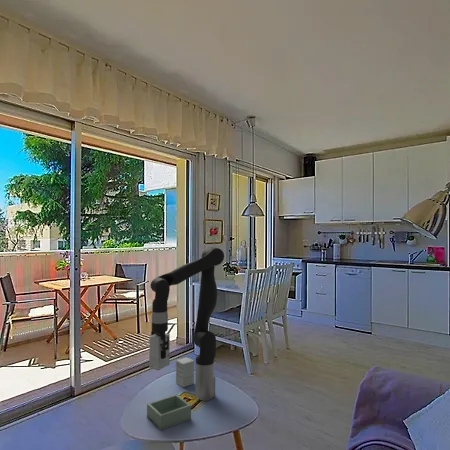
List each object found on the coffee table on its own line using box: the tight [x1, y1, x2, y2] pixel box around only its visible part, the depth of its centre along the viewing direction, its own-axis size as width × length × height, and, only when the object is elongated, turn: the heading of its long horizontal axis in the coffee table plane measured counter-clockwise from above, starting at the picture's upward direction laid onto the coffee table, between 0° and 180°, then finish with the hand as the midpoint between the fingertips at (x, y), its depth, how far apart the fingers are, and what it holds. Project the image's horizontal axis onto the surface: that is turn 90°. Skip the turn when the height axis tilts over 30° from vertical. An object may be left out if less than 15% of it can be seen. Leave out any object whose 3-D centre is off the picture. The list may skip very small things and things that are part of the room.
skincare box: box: [148, 332, 171, 371], centre depth 162 cm, size 8×6×15 cm
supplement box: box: [175, 357, 195, 388], centre depth 189 cm, size 7×7×13 cm
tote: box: [146, 394, 192, 432], centre depth 154 cm, size 15×13×6 cm
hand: (159, 355), depth 162 cm, fingers closed on skincare box, 7 cm apart
